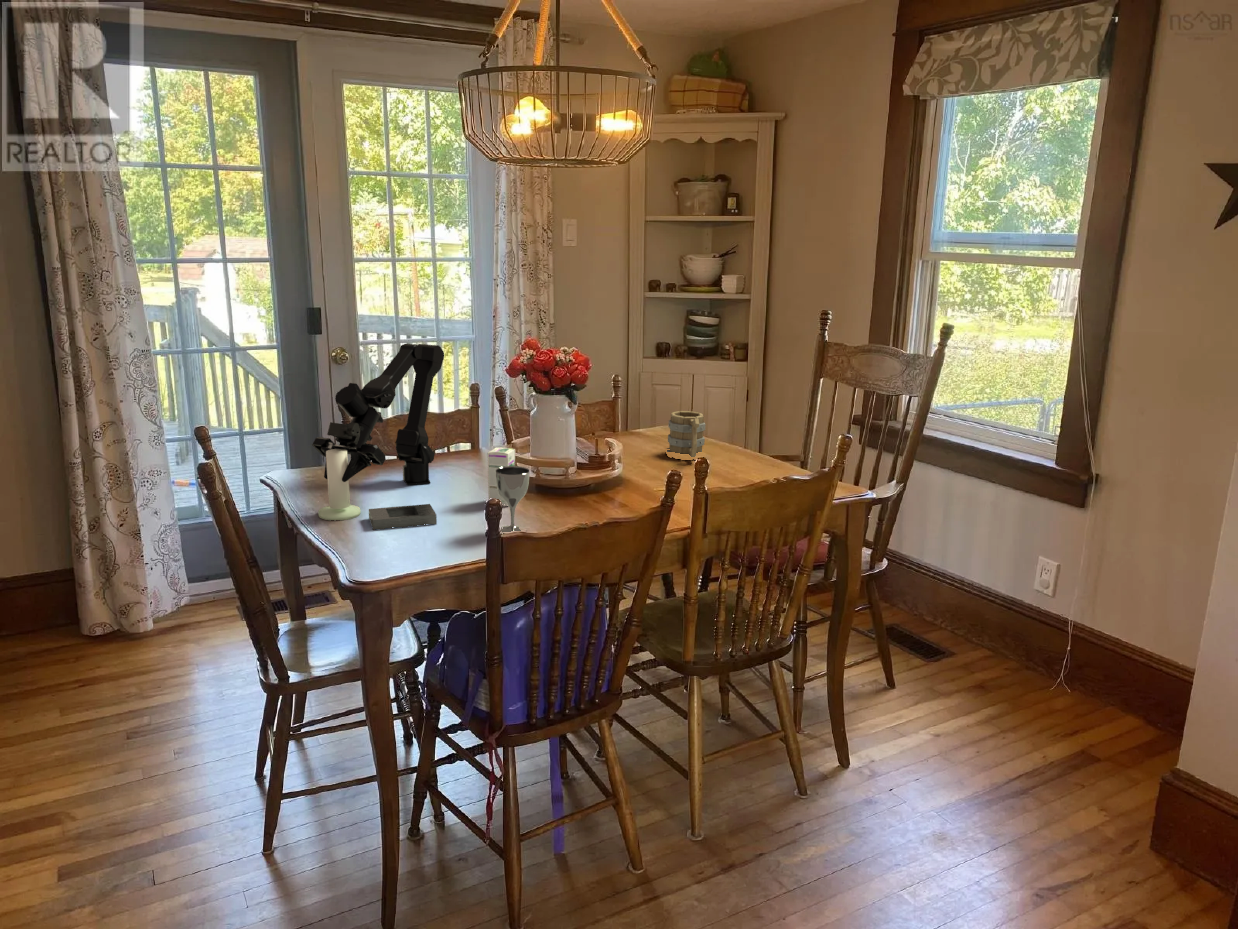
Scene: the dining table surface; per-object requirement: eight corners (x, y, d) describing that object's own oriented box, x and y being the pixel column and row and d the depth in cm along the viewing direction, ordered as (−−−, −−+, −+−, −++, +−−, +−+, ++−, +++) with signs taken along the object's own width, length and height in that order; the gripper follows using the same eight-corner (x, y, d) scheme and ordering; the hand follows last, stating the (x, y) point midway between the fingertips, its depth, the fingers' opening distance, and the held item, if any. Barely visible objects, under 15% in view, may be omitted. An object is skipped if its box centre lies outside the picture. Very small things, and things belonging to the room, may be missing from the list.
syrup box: (509, 507, 231) (509, 453, 227) (487, 505, 232) (487, 451, 229) (515, 500, 237) (516, 448, 233) (494, 499, 238) (494, 446, 234)
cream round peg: (353, 503, 223) (350, 449, 219) (344, 509, 218) (341, 454, 215) (334, 502, 224) (331, 448, 220) (325, 508, 219) (322, 453, 215)
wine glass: (496, 524, 217) (496, 465, 213) (529, 525, 218) (529, 466, 214) (495, 535, 209) (494, 474, 206) (528, 535, 210) (529, 474, 206)
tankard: (663, 451, 295) (665, 406, 291) (700, 451, 297) (702, 407, 293) (673, 466, 276) (675, 419, 272) (712, 466, 277) (715, 419, 274)
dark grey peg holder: (430, 513, 224) (429, 503, 224) (436, 524, 216) (436, 514, 216) (369, 518, 219) (368, 508, 218) (373, 530, 211) (372, 520, 210)
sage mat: (358, 506, 228) (358, 503, 227) (362, 518, 219) (362, 514, 218) (317, 510, 224) (317, 506, 224) (319, 522, 215) (319, 518, 215)
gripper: (314, 405, 222) (286, 458, 215) (376, 413, 215) (348, 467, 208) (337, 430, 231) (310, 481, 224) (397, 438, 224) (371, 491, 217)
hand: (334, 479), depth 218 cm, fingers closed on cream round peg, 5 cm apart
